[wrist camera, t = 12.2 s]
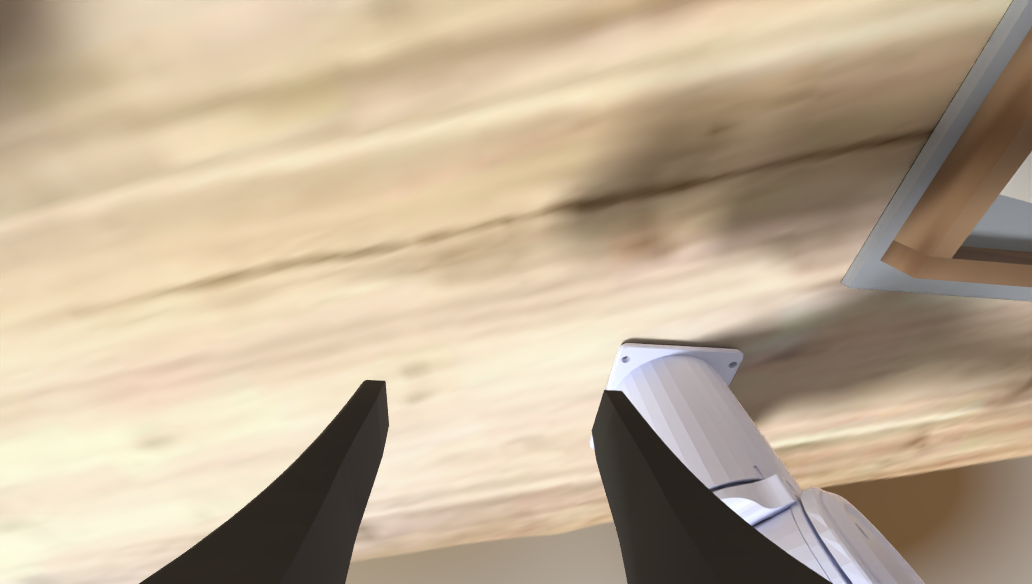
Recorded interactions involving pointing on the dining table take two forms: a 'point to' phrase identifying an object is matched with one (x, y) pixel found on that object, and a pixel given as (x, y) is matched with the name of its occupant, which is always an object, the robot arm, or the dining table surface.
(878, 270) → the base board
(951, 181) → the walnut frame
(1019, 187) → the cream block
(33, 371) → the dining table surface
